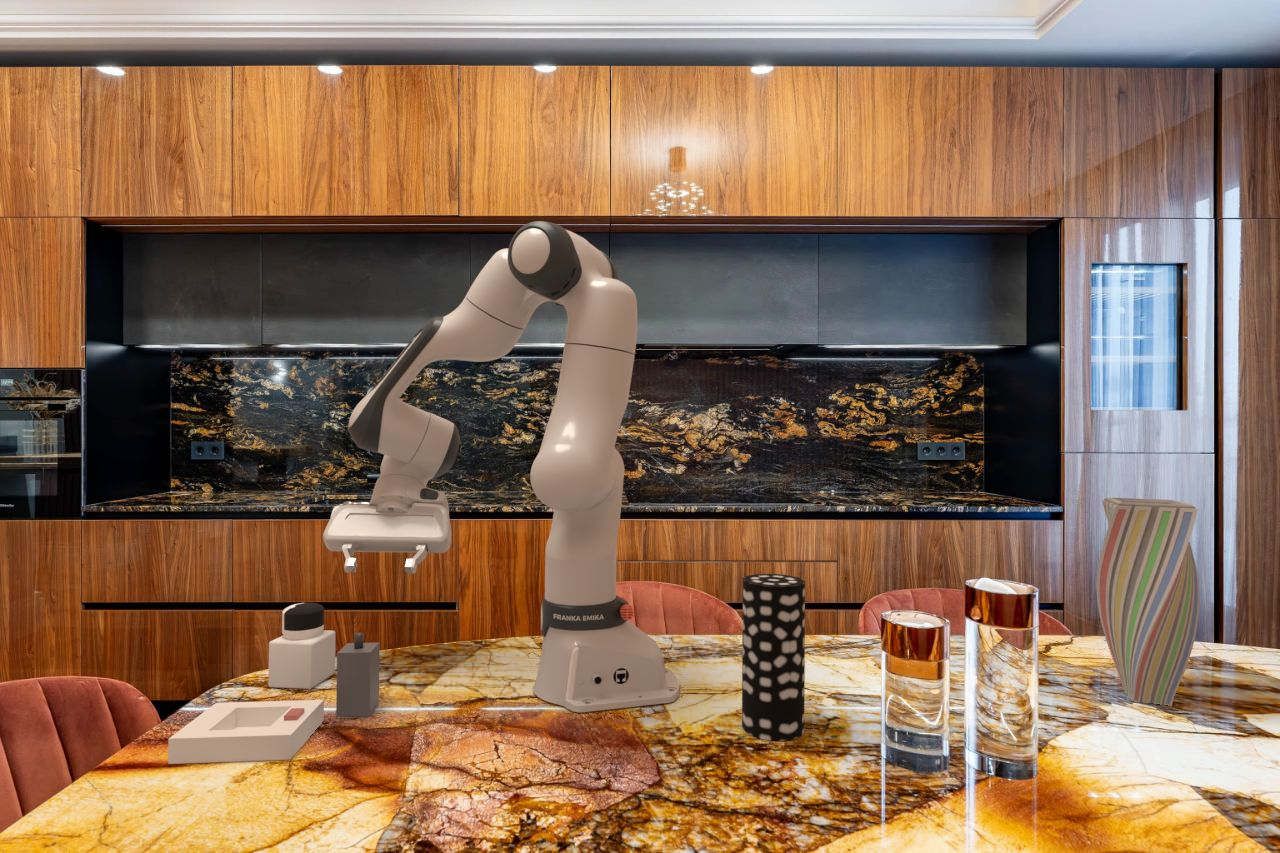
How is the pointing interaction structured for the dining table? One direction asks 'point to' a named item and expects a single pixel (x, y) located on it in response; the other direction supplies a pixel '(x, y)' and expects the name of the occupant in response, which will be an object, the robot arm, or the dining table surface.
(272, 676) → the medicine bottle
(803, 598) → the white-spotted black cylinder
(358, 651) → the plug
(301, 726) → the socket
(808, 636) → the dining table surface
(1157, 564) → the vase
